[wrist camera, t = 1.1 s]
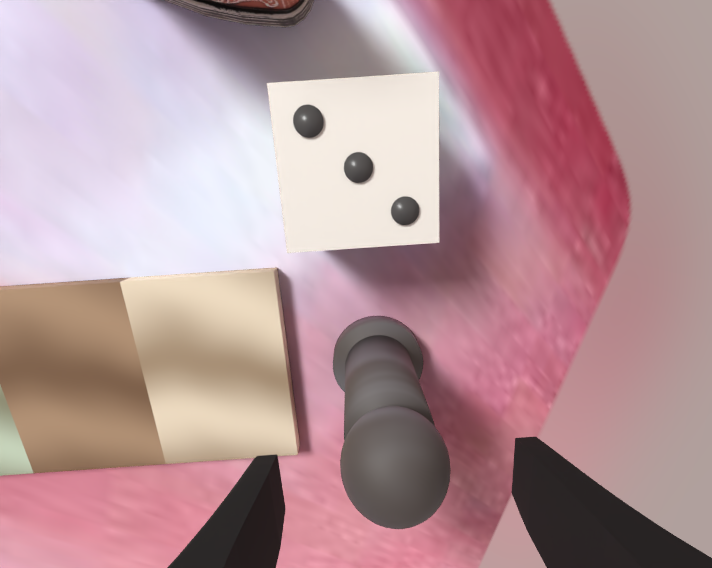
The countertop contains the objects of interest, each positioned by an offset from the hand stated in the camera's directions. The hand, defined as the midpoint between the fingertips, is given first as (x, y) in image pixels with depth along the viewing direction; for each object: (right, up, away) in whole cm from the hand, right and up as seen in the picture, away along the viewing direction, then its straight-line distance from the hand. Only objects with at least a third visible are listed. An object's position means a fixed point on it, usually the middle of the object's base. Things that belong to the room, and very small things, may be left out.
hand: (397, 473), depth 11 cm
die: (-1, +11, +5) cm, 12 cm away
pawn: (0, +2, +7) cm, 8 cm away
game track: (-15, +1, +7) cm, 17 cm away
